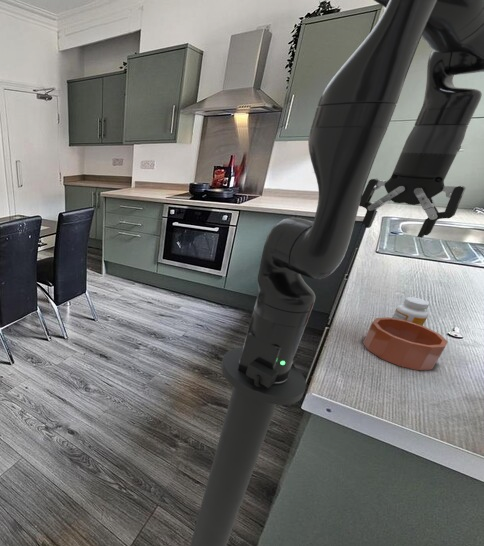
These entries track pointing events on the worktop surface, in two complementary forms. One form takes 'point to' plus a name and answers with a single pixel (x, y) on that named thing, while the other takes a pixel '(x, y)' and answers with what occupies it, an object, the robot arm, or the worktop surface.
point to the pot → (404, 343)
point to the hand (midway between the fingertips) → (392, 231)
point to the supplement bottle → (412, 310)
